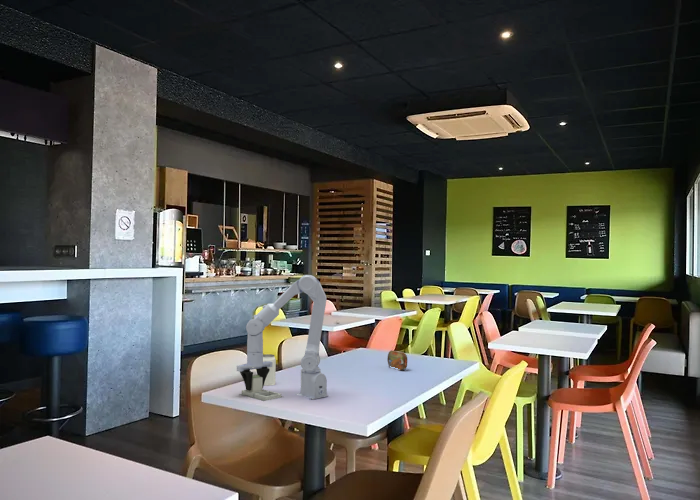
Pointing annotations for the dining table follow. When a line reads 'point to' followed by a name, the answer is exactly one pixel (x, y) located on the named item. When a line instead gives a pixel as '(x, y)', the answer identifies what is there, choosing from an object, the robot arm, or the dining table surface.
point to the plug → (256, 384)
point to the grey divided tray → (262, 395)
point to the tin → (397, 359)
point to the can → (271, 375)
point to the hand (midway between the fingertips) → (254, 389)
